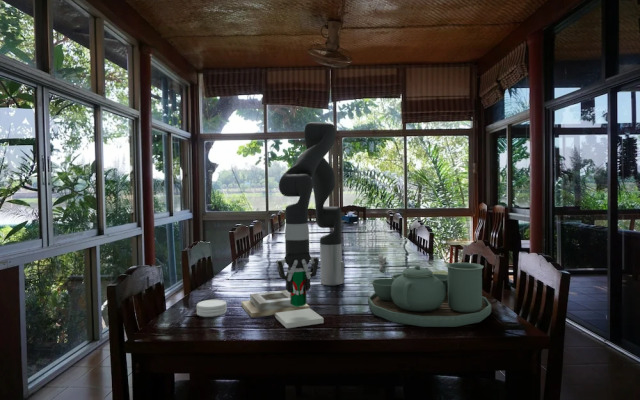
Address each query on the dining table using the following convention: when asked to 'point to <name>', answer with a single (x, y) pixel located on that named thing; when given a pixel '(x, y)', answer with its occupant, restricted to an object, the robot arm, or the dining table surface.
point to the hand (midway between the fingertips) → (298, 291)
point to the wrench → (381, 261)
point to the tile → (298, 318)
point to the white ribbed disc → (211, 308)
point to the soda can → (298, 288)
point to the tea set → (432, 297)
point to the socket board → (266, 313)
